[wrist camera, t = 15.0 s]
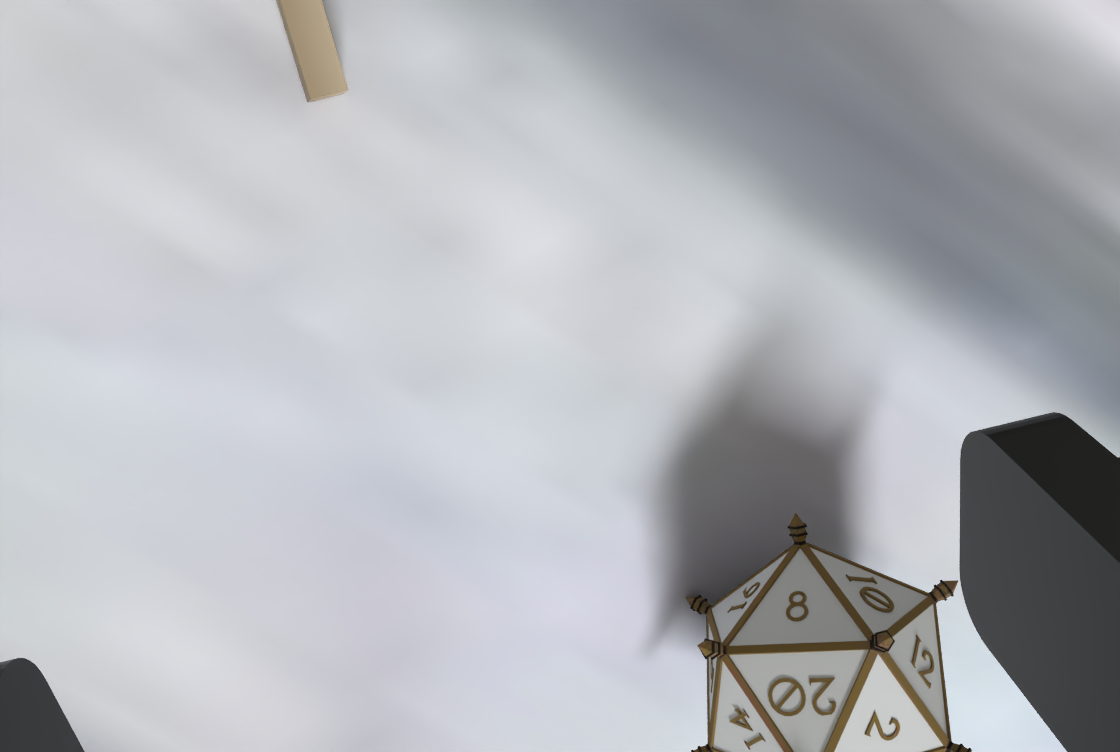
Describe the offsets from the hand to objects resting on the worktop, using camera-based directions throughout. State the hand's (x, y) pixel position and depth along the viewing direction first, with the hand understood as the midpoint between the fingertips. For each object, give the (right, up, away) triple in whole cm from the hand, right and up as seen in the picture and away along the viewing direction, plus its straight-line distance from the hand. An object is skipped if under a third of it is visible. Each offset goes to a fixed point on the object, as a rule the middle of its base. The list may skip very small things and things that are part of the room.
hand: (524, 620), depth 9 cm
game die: (+7, -6, +27) cm, 29 cm away
